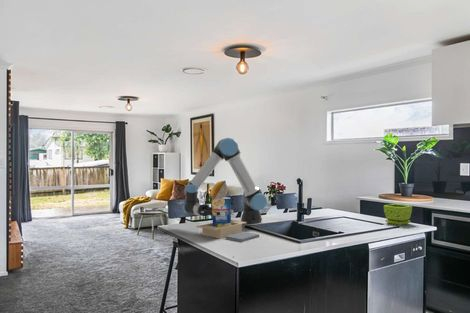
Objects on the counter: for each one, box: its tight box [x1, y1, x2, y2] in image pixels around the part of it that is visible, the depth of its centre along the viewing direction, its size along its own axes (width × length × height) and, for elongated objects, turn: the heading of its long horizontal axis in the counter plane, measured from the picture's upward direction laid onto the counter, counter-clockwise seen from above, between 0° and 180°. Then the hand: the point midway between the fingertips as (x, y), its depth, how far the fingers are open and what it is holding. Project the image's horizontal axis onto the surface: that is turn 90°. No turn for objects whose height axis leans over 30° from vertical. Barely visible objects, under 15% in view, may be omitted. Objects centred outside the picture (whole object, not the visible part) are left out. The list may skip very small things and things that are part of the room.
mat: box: [225, 231, 260, 243], centre depth 205 cm, size 16×12×2 cm
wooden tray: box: [196, 219, 248, 240], centre depth 215 cm, size 29×15×6 cm, turn 139°
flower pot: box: [383, 203, 413, 226], centre depth 248 cm, size 14×14×13 cm
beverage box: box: [211, 196, 232, 228], centre depth 215 cm, size 7×11×22 cm, turn 89°
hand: (228, 213), depth 212 cm, fingers open, 7 cm apart
